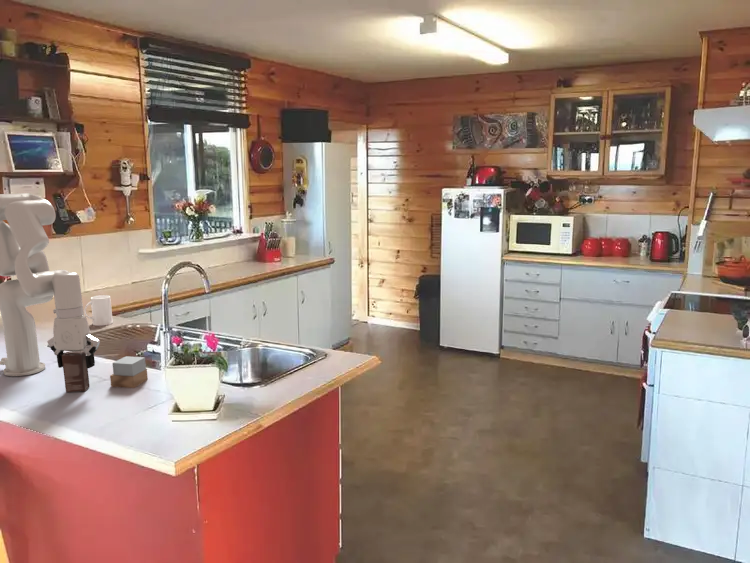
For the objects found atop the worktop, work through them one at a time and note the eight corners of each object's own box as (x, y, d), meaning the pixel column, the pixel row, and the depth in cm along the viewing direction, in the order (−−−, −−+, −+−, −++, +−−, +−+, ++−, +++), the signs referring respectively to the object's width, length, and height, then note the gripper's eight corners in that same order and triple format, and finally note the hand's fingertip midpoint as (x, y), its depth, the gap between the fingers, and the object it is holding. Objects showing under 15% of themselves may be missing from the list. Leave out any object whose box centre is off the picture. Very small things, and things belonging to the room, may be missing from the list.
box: (90, 386, 200) (86, 350, 198) (85, 391, 196) (81, 354, 193) (70, 387, 199) (66, 351, 197) (65, 392, 195) (60, 355, 193)
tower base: (111, 387, 200) (110, 375, 199) (125, 379, 208) (124, 367, 207) (134, 389, 199) (133, 376, 198) (147, 380, 206) (146, 368, 206)
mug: (89, 328, 272) (86, 301, 269) (81, 324, 278) (79, 298, 275) (116, 323, 280) (114, 296, 277) (108, 319, 286) (106, 294, 283)
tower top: (113, 375, 200) (112, 362, 199) (126, 368, 206) (125, 356, 206) (133, 376, 198) (132, 364, 197) (146, 369, 205) (144, 357, 204)
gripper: (36, 315, 191) (43, 369, 194) (87, 315, 188) (94, 371, 190) (53, 310, 198) (59, 362, 201) (102, 310, 195) (109, 363, 198)
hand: (76, 366), depth 196 cm, fingers open, 9 cm apart
